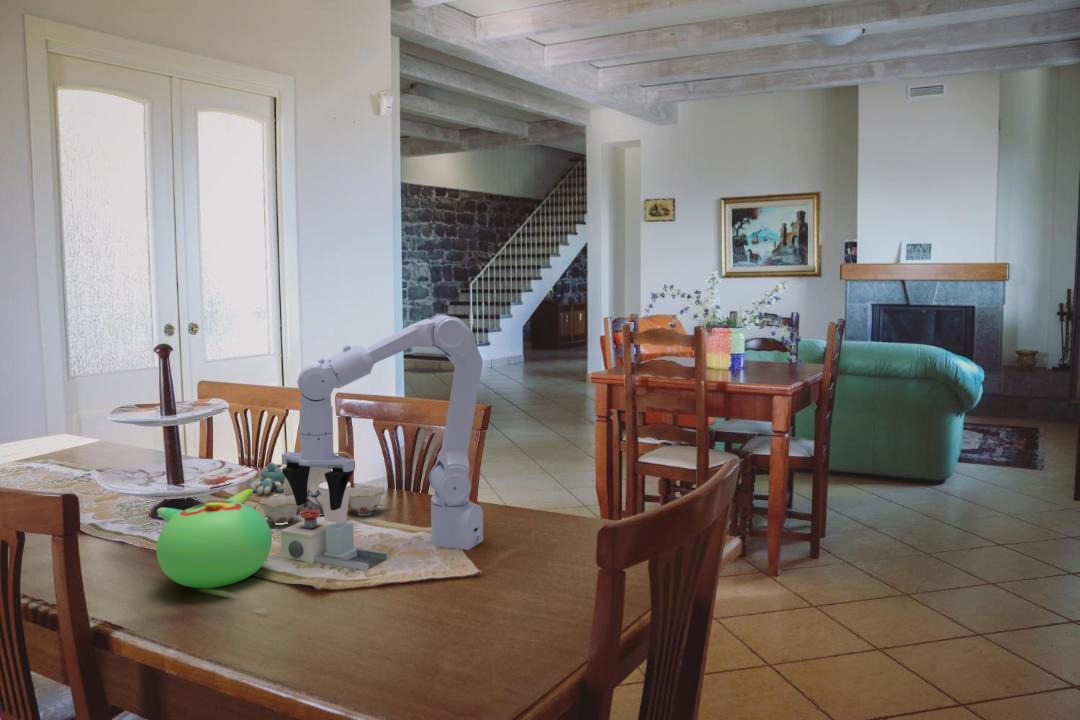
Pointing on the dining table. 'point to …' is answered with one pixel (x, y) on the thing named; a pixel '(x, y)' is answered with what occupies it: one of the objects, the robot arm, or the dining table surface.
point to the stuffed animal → (269, 479)
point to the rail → (355, 563)
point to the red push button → (310, 518)
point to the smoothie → (328, 513)
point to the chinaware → (319, 497)
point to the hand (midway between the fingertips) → (318, 506)
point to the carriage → (340, 541)
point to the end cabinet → (304, 541)
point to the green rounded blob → (213, 542)
